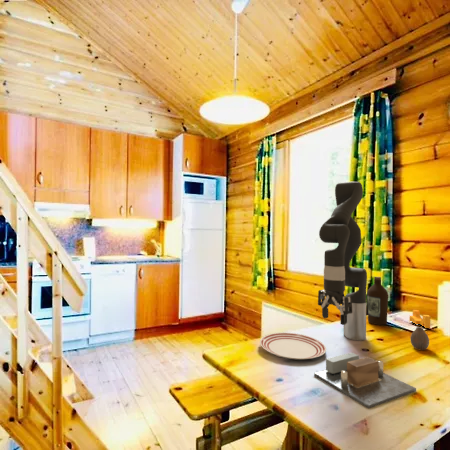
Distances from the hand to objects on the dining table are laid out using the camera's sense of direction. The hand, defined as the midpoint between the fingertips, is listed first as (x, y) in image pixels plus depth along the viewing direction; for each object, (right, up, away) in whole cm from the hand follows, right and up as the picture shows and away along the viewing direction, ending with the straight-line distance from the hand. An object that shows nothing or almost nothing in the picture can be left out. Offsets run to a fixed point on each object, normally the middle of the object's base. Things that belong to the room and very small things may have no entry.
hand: (334, 321), depth 115 cm
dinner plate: (-12, -18, +16) cm, 27 cm away
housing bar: (+1, -16, -5) cm, 16 cm away
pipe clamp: (+65, -19, +53) cm, 86 cm away
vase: (+44, -18, +19) cm, 52 cm away
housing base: (+5, -17, -12) cm, 22 cm away
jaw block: (+5, -16, -12) cm, 21 cm away
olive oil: (+44, -18, +56) cm, 74 cm away
